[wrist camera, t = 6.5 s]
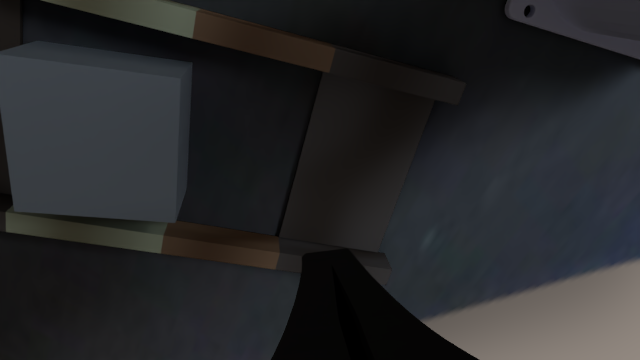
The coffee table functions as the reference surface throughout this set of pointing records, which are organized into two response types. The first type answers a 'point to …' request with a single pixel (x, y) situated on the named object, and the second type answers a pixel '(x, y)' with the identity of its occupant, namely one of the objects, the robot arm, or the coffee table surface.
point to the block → (95, 131)
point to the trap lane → (315, 159)
